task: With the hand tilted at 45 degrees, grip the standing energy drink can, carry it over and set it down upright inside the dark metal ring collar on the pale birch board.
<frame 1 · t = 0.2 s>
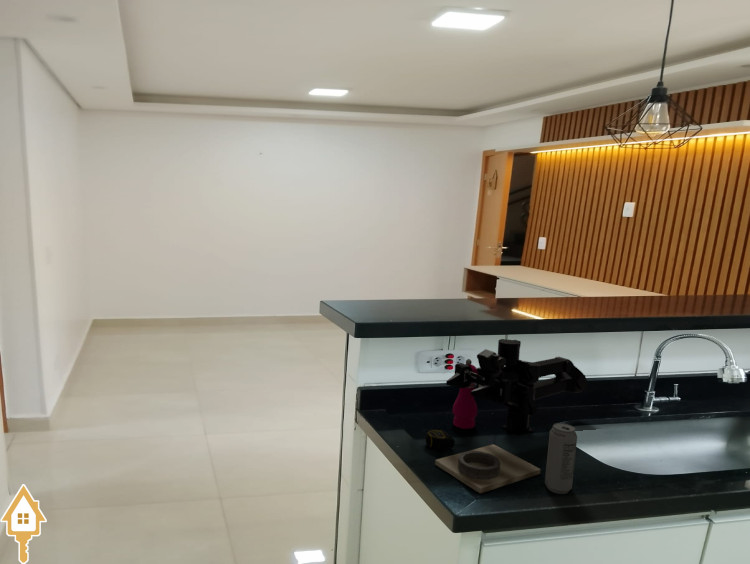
hand: (458, 388, 148), 17 cm above the counter, fingers open, 9 cm apart
tape measure: (439, 447, 152), on the counter
pepper mill: (463, 425, 167), on the counter
energy drink can: (557, 489, 132), on the counter
collar board: (487, 469, 140), on the counter
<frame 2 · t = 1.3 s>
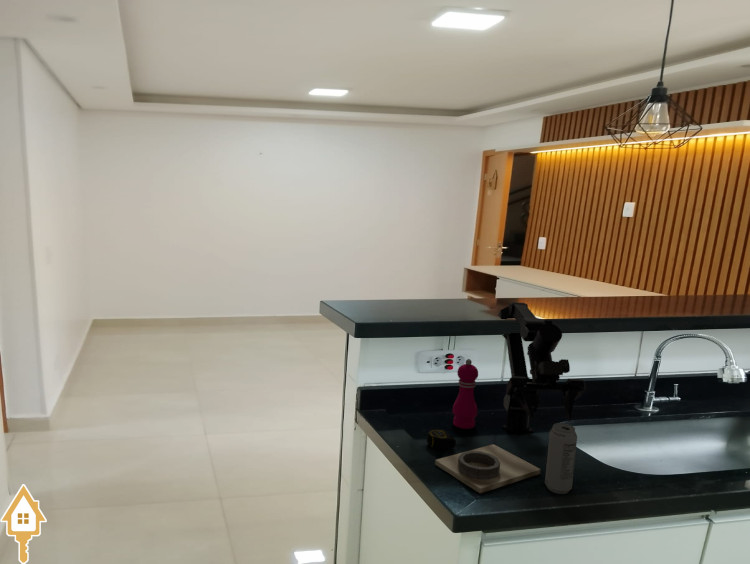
hand: (550, 419, 138), 14 cm above the counter, fingers open, 9 cm apart
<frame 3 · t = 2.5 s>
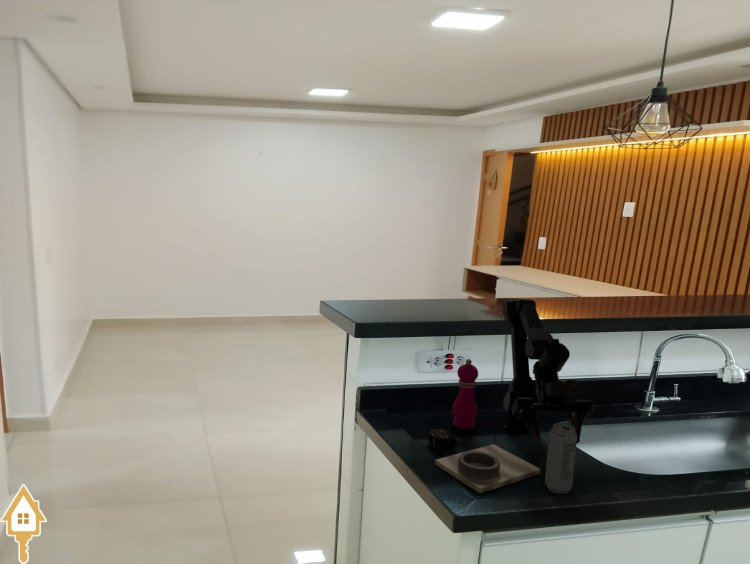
hand: (558, 442, 133), 10 cm above the counter, fingers open, 9 cm apart
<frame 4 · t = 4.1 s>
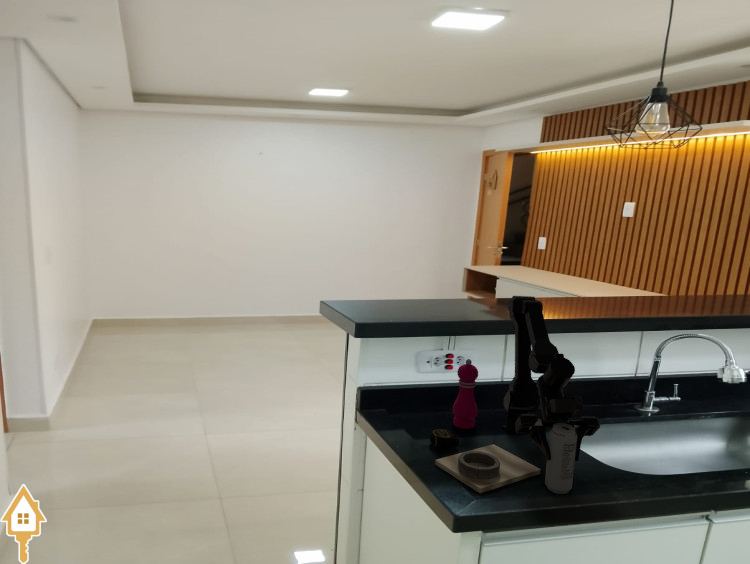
hand: (563, 460, 129), 8 cm above the counter, fingers closed on energy drink can, 6 cm apart
energy drink can: (557, 489, 132), on the counter, touching gripper
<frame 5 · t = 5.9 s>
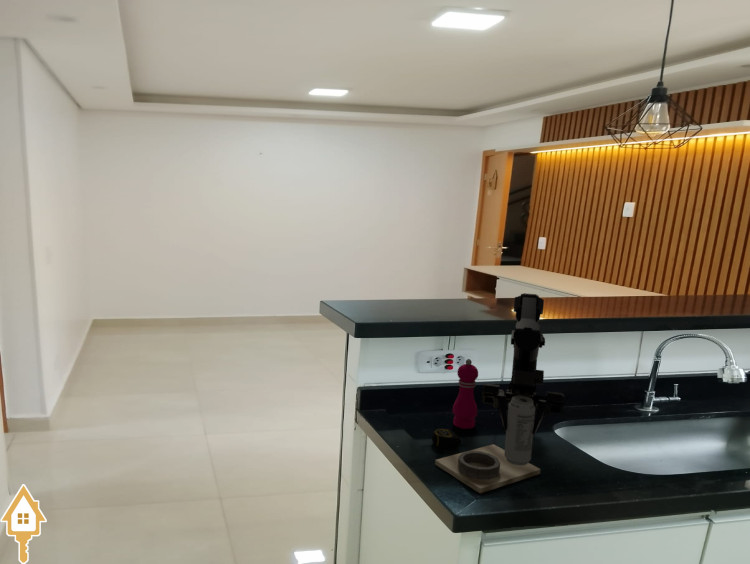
hand: (519, 431, 130), 13 cm above the counter, fingers closed on energy drink can, 6 cm apart
energy drink can: (517, 461, 132), point 5 cm above the counter, touching gripper
when the fingers open (10 cm above the counter, at t = 7.7 s): energy drink can stays where it is, resting on collar board.
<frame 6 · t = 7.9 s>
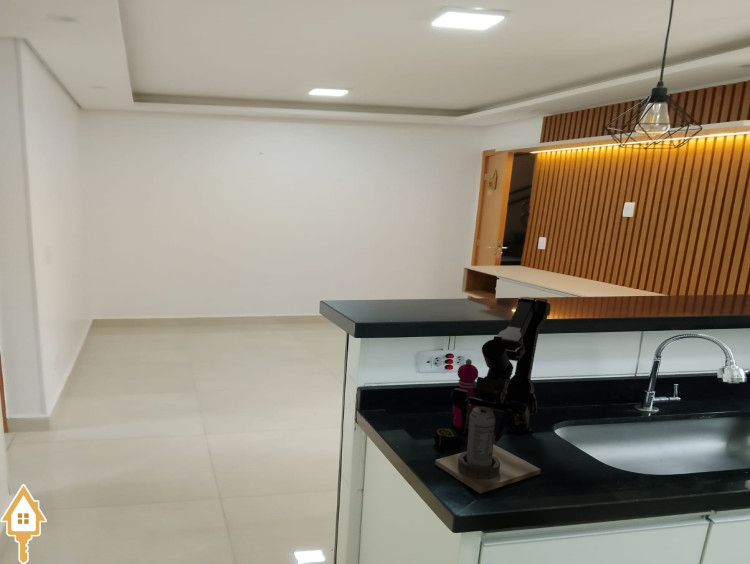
hand: (479, 436, 134), 10 cm above the counter, fingers open, 8 cm apart
energy drink can: (478, 469, 137), point 1 cm above the counter, touching collar board
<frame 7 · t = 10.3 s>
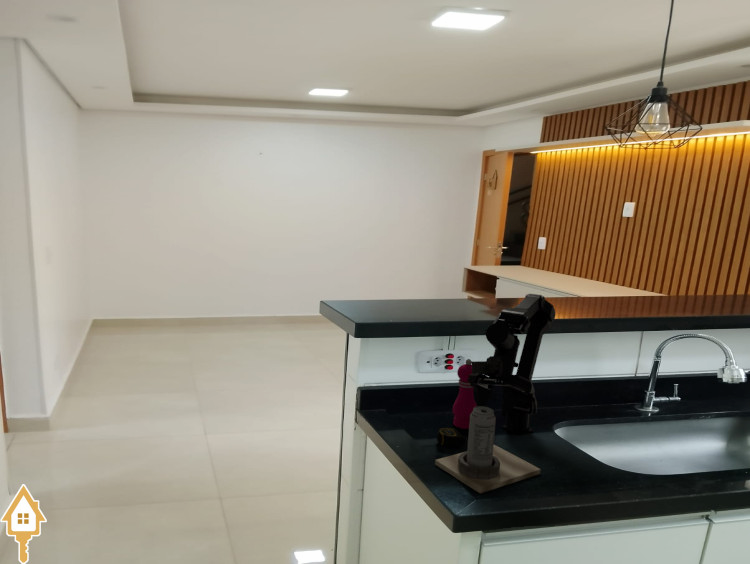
hand: (490, 415, 143), 12 cm above the counter, fingers open, 9 cm apart
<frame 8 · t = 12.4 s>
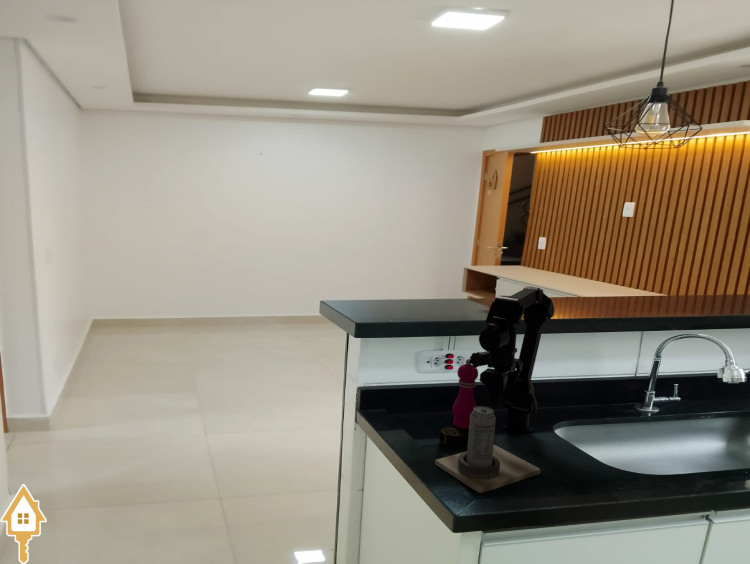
hand: (499, 401, 150), 13 cm above the counter, fingers open, 9 cm apart
at the end: energy drink can 0.2 cm from the target spot on the collar board, point 1.0 cm above the collar board's base; energy drink can tilted 0°; the gripper is holding nothing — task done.
